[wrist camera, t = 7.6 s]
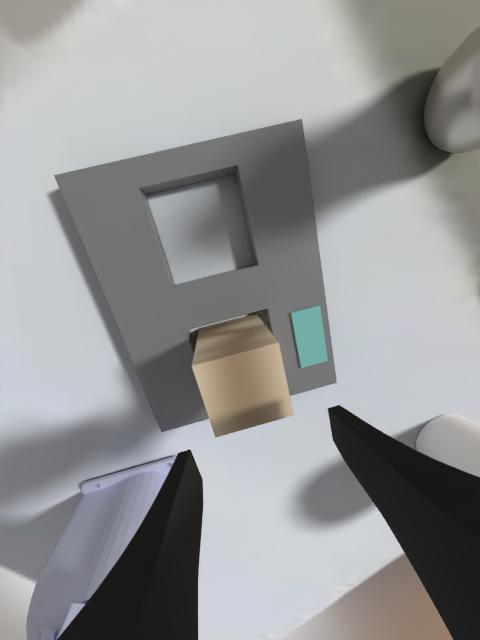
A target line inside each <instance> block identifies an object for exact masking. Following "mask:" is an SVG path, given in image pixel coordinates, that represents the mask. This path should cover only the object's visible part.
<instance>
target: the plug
mask: <svg viewBox="0 0 480 640" xmlns="http://www.w3.org/2000/svg"><path fill="white" fill-rule="evenodd" d="M192 369H193V372H194V375H195V378H196V381H197V384H198V387H199V390H200V393H201V396H202V399H203V401H204V404H205V407H206V410H207V413H208V416H209V419H210V422H211V425H212V428H213V431H214V434H215V437H219V436H222V435H226V434H229V433H233V432H236V431H240V430H243V429H247V428H250V427H254V426H257V425H261V424H265V423H268V422H272V421H275V420H279V419H282V418H286V417H289V416H293V415H294V414H293V409H292V404H291V399H290V395H289V390H288V385H287V380H286V375H285V370H284V365H283V360H282V355H281V351H280V346H279V342H278V341H277V339H276V338H275V337H274V336H273V334H272V333H271V332H270V330H269V329H268V328H267V327H266V325H265V324H264V323H263V321H262V320H261V319H260V317H259V316H258V315H257V314H252V315H248V316H244V317H241V318H237V319H233V320H229V321H225V322H222V323H218V324H214V325H210V326H207V327H203V328H199V333H198V338H197V343H196V347H195V352H194V357H193V362H192Z"/></svg>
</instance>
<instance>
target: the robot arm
mask: <svg viewBox="0 0 480 640" xmlns="http://www.w3.org/2000/svg"><path fill="white" fill-rule="evenodd" d="M328 412H329V418H330V425H331V431H332V437H333V441H334V443H335V445H336V446H337V448H338V450H339V452H340V454H341V455H342V457H343V459H344V461H345V462H346V464H347V465H348V467H349V468H350V469H351V471H352V472H353V474H354V475H355V477H356V478H357V480H358V481H359V482H360V484H361V485H362V487H363V488H364V490H365V491H366V492H367V494H368V495H369V497H370V498H371V500H372V501H373V502H374V504H375V505H376V507H377V508H378V510H379V511H380V513H381V514H382V516H383V517H384V519H385V520H386V522H387V524H388V525H389V527H390V529H391V530H392V532H393V534H394V535H395V537H396V539H397V540H398V542H399V544H400V545H401V547H402V549H403V551H404V552H405V554H406V556H407V557H408V559H409V561H410V563H411V564H412V566H413V568H414V570H415V571H416V573H417V575H418V576H419V578H420V580H421V582H422V584H423V585H424V587H425V589H426V591H427V592H428V594H429V596H430V598H431V599H432V601H433V603H434V605H435V607H436V608H437V610H438V612H439V614H440V616H441V617H442V619H443V621H444V623H445V625H446V627H447V628H448V630H449V632H450V634H451V636H452V638H453V640H480V477H478V476H475V475H472V474H470V473H467V472H465V471H462V470H460V469H457V468H455V467H452V466H450V465H447V464H445V463H443V462H440V461H438V460H436V459H433V458H431V457H429V456H427V455H425V454H423V453H421V452H418V451H416V450H414V449H412V448H410V447H408V446H406V445H404V444H403V443H401V442H399V441H397V440H395V439H393V438H392V437H390V436H388V435H386V434H384V433H383V432H381V431H379V430H378V429H376V428H374V427H373V426H371V425H369V424H368V423H366V422H365V421H363V420H362V419H360V418H358V417H357V416H355V415H354V414H352V413H351V412H349V411H348V410H346V409H345V408H343V407H341V406H340V405H338V406H335V407H332V408H328ZM169 463H171V464H169ZM81 491H82V492H83V494H84V496H83V497H82V499H81V501H80V503H79V505H78V506H77V508H76V510H75V512H74V514H73V516H72V517H71V519H70V521H69V523H68V525H67V526H66V528H65V530H64V532H63V534H62V536H61V537H60V539H59V541H58V543H57V545H56V547H55V548H54V550H53V552H52V554H51V556H50V557H49V559H48V561H47V563H46V565H45V567H44V568H43V570H42V572H41V574H40V577H39V579H38V581H37V584H36V586H35V589H34V592H33V595H32V599H31V603H30V607H29V611H28V616H27V625H26V628H27V629H26V631H27V640H198V569H199V555H200V541H201V528H202V514H203V482H202V477H201V475H200V472H199V470H198V467H197V465H196V462H195V460H194V457H193V455H192V452H191V450H187V451H184V452H180V453H178V455H177V456H173V457H170V458H166V459H163V460H159V461H156V462H152V463H149V464H145V465H142V466H138V467H135V468H132V469H128V470H125V471H121V472H118V473H114V474H111V475H107V476H104V477H100V478H97V479H93V480H90V481H86V482H84V483H83V484H82V486H81Z"/></svg>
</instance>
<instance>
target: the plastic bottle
mask: <svg viewBox="0 0 480 640" xmlns="http://www.w3.org/2000/svg"><path fill="white" fill-rule="evenodd" d="M424 126H425V130H426V134H427V136H428V138H429V140H430V141H431V142H432V143H433V145H435V146H436V147H437V148H439V149H442V150H444V151H447V152H450V153H464V152H469V151H472V150H476V149H480V26H479V27H478V28H477V29H475V30H474V31H473V32H472V33H471V34H470V35H469V36H468V37H467V38H466V39H465V40H464V42H463V43H462V44H461V45H460V46H459V47H458V48H457V49H456V50H455V51H454V53H453V54H452V55H451V56H450V57H449V58H448V59H447V60H446V61H445V63H444V64H443V66H442V67H441V68H440V70H439V72H438V74H437V75H436V77H435V79H434V81H433V84H432V86H431V88H430V90H429V93H428V96H427V99H426V103H425V108H424Z"/></svg>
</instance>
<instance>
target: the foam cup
mask: <svg viewBox="0 0 480 640" xmlns="http://www.w3.org/2000/svg"><path fill="white" fill-rule="evenodd" d="M416 450H417V451H418V452H421V453H423V454H425V455H427V456H429V457H431V458H433V459H436V460H438V461H440V462H443V463H445V464H447V465H450V466H452V467H455V468H457V469H460V470H462V471H465V472H467V473H470V474H472V475H475V476H478V477H480V426H479V425H477V424H475V423H473V422H471V421H469V420H467V419H465V418H463V417H461V416H458V415H456V414H444V415H441V416H439V417H437V418H435V419H433V420H431V421H430V422H429V423H428V424H427V425H425V426H424V427H423V428H422V429H421V431H420V433H419V435H418V437H417V439H416Z"/></svg>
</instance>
